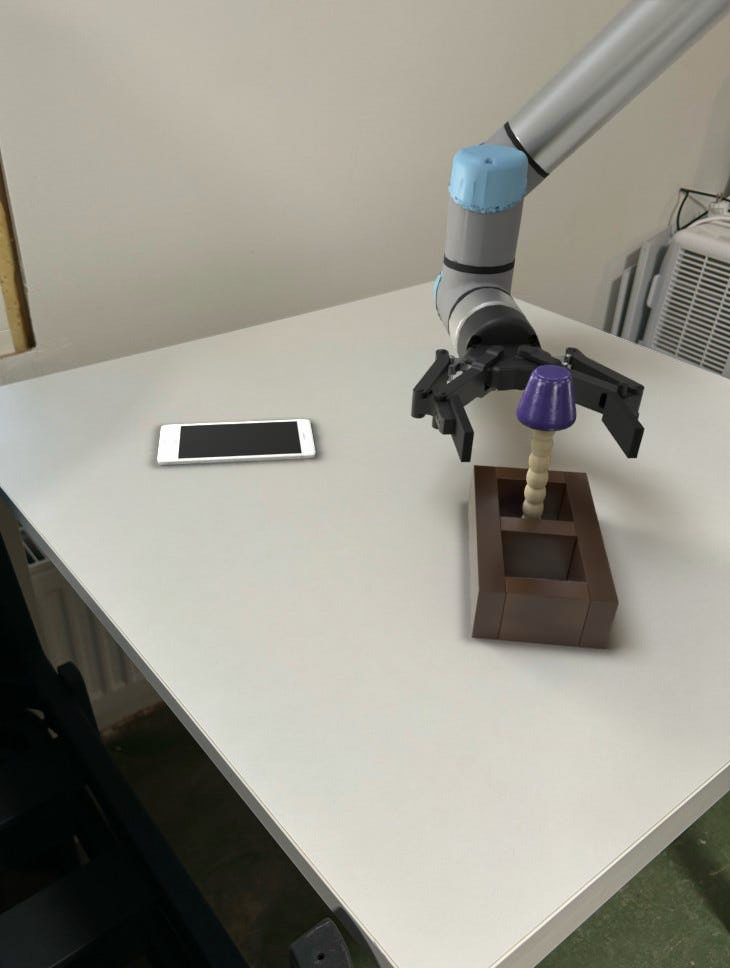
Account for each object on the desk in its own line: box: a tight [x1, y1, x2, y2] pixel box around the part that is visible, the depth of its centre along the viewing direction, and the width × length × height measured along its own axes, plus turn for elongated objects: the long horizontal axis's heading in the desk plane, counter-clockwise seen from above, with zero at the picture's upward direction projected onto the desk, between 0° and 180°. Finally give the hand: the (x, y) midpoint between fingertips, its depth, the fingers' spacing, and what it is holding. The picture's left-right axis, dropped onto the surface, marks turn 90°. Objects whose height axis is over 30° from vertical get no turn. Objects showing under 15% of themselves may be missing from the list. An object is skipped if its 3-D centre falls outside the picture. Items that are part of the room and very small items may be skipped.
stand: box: [467, 464, 620, 650], centre depth 68 cm, size 10×18×5 cm, turn 173°
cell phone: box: [156, 418, 317, 466], centre depth 87 cm, size 8×16×1 cm, turn 96°
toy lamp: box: [515, 365, 577, 519], centre depth 68 cm, size 5×5×17 cm
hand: (552, 445), depth 65 cm, fingers open, 13 cm apart
